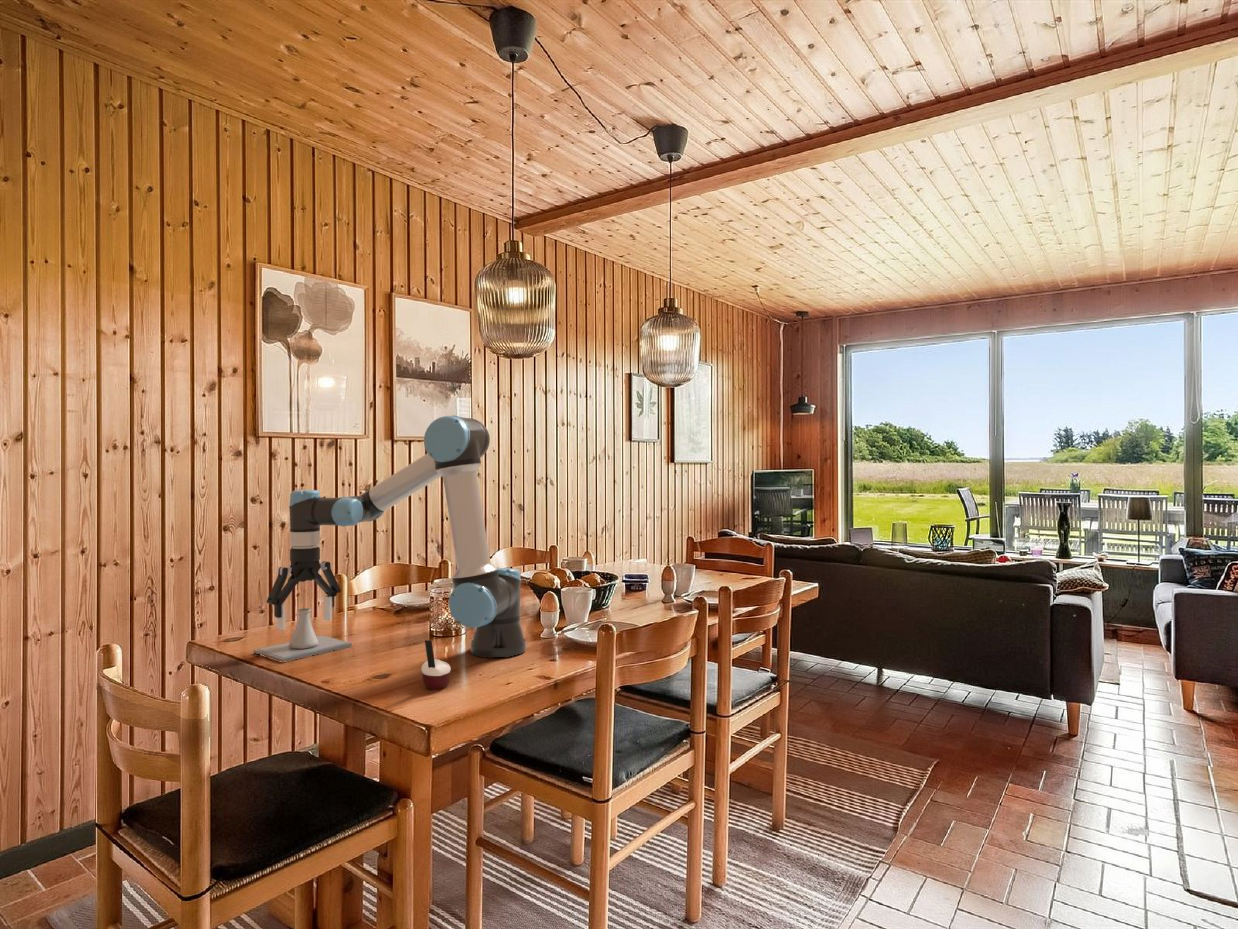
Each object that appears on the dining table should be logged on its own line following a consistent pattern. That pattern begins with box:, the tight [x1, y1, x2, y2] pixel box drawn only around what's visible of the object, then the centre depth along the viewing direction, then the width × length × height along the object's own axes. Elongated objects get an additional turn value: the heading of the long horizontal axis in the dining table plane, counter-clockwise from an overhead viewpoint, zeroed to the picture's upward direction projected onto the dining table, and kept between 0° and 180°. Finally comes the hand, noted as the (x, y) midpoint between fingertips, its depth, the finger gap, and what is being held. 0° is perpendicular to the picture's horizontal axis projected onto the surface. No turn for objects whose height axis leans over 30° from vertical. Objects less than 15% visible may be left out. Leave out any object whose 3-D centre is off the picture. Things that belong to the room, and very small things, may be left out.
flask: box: [289, 608, 319, 649], centre depth 192 cm, size 7×7×10 cm
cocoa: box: [420, 639, 452, 690], centre depth 163 cm, size 10×6×12 cm, turn 149°
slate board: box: [253, 634, 352, 662], centre depth 192 cm, size 14×20×1 cm
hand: (305, 624), depth 192 cm, fingers open, 13 cm apart
